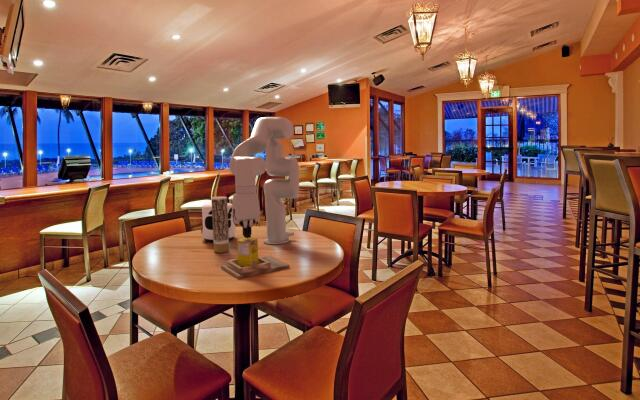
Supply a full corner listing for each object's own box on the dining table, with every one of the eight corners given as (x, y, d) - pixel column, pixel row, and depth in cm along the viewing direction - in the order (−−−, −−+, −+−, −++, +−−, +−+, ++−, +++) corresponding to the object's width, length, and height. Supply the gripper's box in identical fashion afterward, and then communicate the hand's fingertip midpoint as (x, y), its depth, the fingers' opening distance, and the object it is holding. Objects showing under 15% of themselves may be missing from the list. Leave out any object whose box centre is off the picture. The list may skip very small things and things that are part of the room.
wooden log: (225, 253, 178) (222, 198, 175) (211, 252, 180) (208, 198, 176) (231, 249, 185) (229, 196, 182) (218, 248, 186) (215, 196, 183)
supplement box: (258, 264, 158) (257, 237, 156) (251, 269, 152) (250, 241, 150) (245, 263, 159) (244, 236, 158) (237, 267, 154) (236, 240, 152)
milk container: (215, 234, 217) (213, 201, 214) (242, 236, 210) (241, 203, 208) (194, 241, 201) (192, 206, 198) (223, 244, 194) (221, 208, 192)
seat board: (269, 258, 170) (269, 251, 170) (289, 267, 157) (289, 259, 157) (221, 268, 157) (220, 260, 157) (238, 279, 145) (237, 270, 144)
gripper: (258, 188, 159) (259, 232, 161) (223, 190, 150) (225, 238, 152) (267, 189, 153) (268, 236, 155) (231, 192, 144) (233, 241, 146)
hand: (247, 237), depth 154 cm, fingers closed
